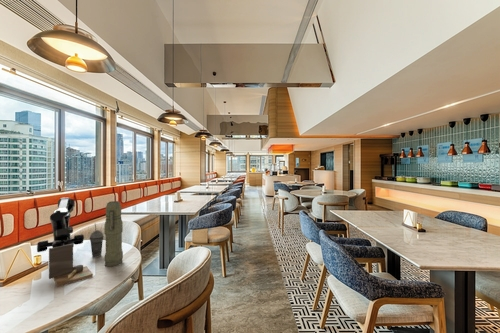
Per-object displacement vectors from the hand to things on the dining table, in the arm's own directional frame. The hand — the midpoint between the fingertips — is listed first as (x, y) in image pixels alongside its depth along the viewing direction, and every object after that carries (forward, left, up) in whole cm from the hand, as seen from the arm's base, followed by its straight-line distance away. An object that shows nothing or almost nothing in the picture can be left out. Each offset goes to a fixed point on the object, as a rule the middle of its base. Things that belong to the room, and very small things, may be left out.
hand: (63, 256), depth 116 cm
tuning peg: (+7, -4, -7) cm, 10 cm away
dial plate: (+8, -2, -9) cm, 12 cm away
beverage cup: (-3, +24, -9) cm, 26 cm away
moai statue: (+16, +15, -9) cm, 24 cm away
